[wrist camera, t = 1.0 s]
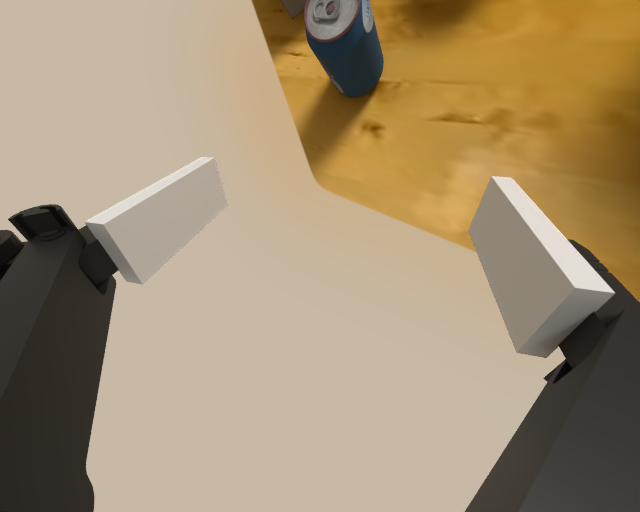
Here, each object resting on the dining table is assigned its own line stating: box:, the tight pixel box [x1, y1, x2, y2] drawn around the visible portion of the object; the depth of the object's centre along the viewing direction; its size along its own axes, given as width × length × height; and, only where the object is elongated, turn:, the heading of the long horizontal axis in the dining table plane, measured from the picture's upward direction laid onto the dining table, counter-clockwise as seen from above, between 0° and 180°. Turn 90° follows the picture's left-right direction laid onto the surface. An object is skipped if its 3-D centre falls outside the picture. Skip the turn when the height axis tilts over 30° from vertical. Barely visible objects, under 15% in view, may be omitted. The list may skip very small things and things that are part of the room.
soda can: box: [304, 0, 383, 97], centre depth 30 cm, size 7×7×12 cm
